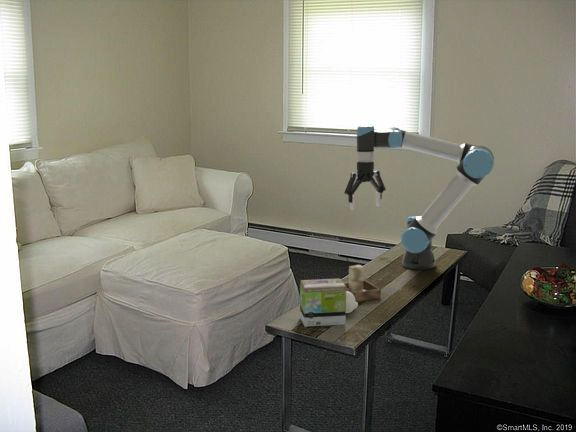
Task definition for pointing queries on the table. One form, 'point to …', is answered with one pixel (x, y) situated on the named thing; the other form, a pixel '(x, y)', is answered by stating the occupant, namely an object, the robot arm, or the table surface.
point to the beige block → (356, 278)
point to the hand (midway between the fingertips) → (365, 208)
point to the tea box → (322, 302)
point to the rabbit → (350, 302)
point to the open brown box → (365, 292)
